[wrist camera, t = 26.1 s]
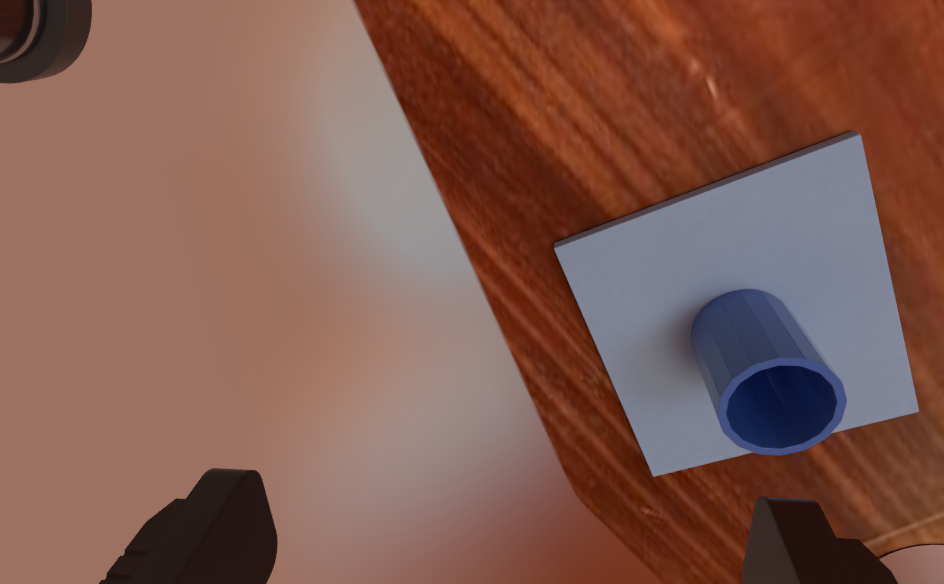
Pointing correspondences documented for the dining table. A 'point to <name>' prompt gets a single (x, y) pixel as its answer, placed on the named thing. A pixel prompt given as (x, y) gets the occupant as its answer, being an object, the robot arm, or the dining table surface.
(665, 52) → the dining table surface
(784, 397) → the blue cup
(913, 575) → the bracket
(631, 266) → the blue mat
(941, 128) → the dining table surface
